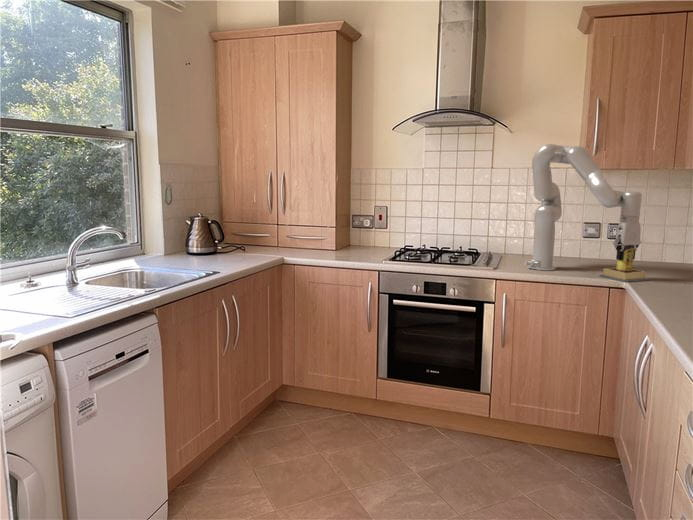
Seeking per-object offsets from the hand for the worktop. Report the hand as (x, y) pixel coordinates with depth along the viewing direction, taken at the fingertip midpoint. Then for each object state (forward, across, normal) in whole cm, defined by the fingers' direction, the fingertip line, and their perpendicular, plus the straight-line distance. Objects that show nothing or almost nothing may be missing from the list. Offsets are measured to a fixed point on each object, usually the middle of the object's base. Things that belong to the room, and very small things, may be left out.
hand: (625, 259), depth 236 cm
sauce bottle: (+7, 0, 0) cm, 7 cm away
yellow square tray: (+9, 0, 0) cm, 9 cm away
